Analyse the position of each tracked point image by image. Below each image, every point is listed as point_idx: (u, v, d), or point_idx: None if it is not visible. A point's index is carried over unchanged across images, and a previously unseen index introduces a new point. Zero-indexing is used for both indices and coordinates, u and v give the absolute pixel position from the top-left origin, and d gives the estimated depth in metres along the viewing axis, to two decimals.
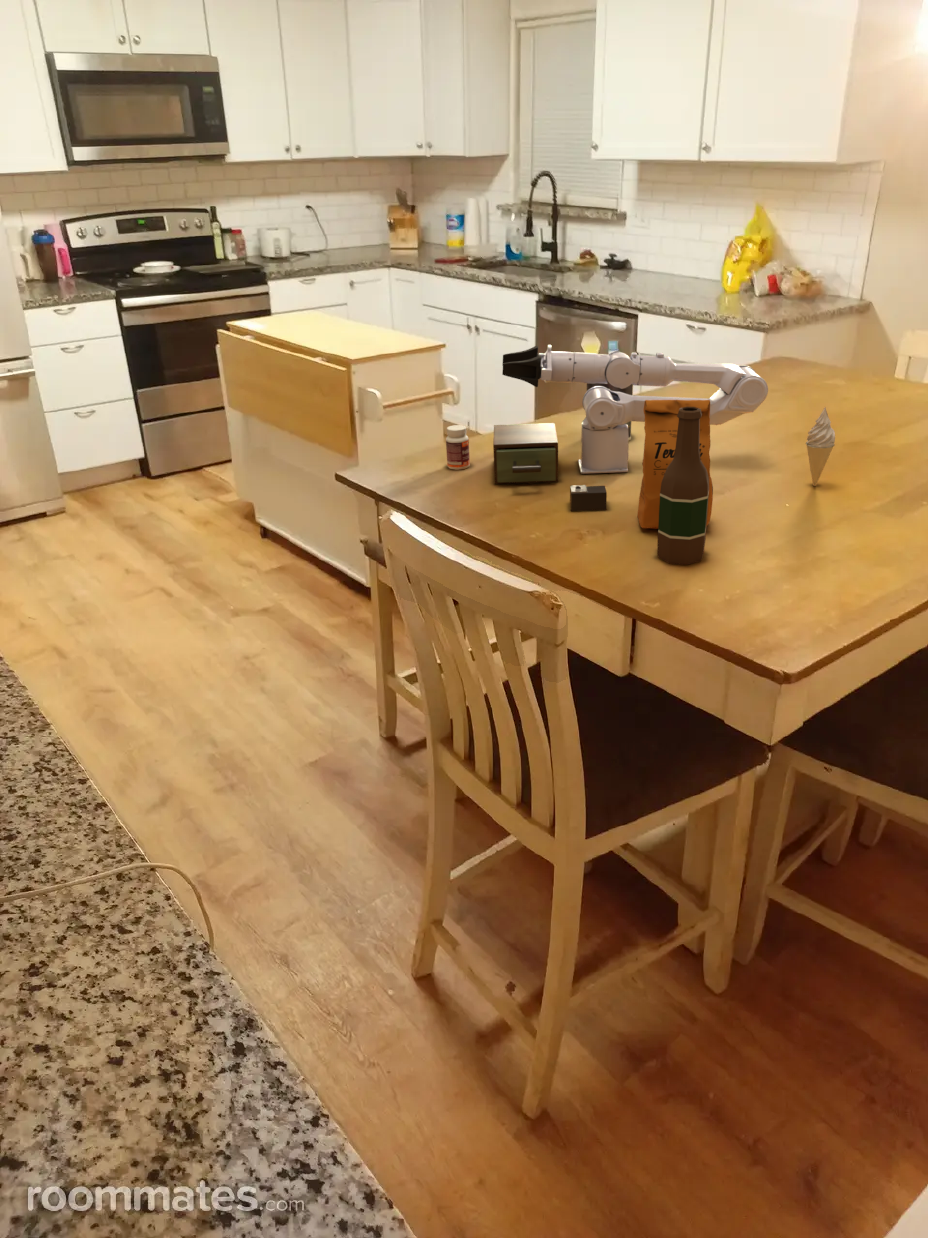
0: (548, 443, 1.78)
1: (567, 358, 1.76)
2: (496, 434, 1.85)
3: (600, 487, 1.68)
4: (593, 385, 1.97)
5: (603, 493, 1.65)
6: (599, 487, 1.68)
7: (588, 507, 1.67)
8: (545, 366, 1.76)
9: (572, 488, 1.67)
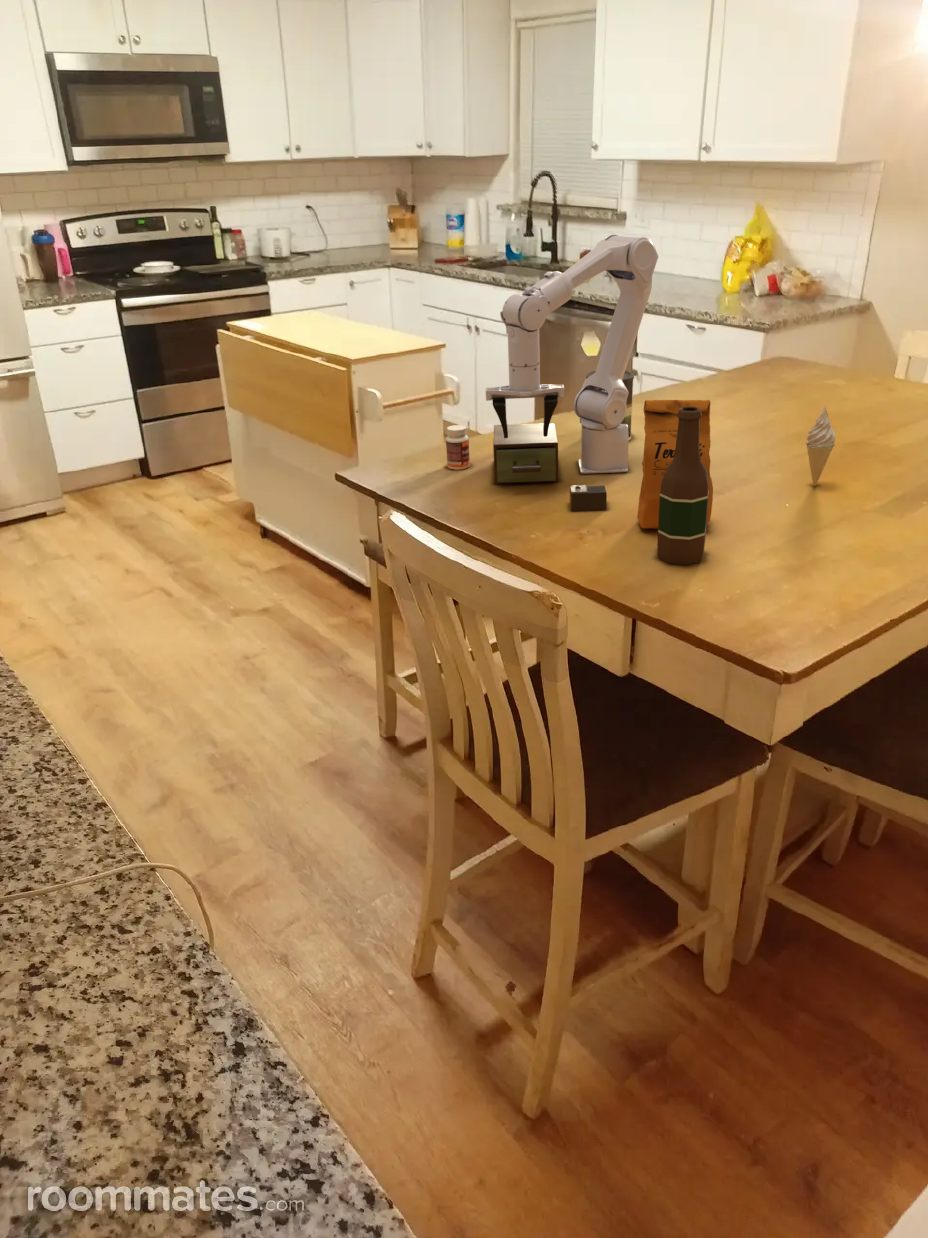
0: (548, 443, 1.78)
1: (534, 372, 1.67)
2: (496, 434, 1.85)
3: (600, 487, 1.68)
4: None
5: (603, 493, 1.65)
6: (599, 487, 1.68)
7: (588, 507, 1.67)
8: None
9: (572, 488, 1.67)
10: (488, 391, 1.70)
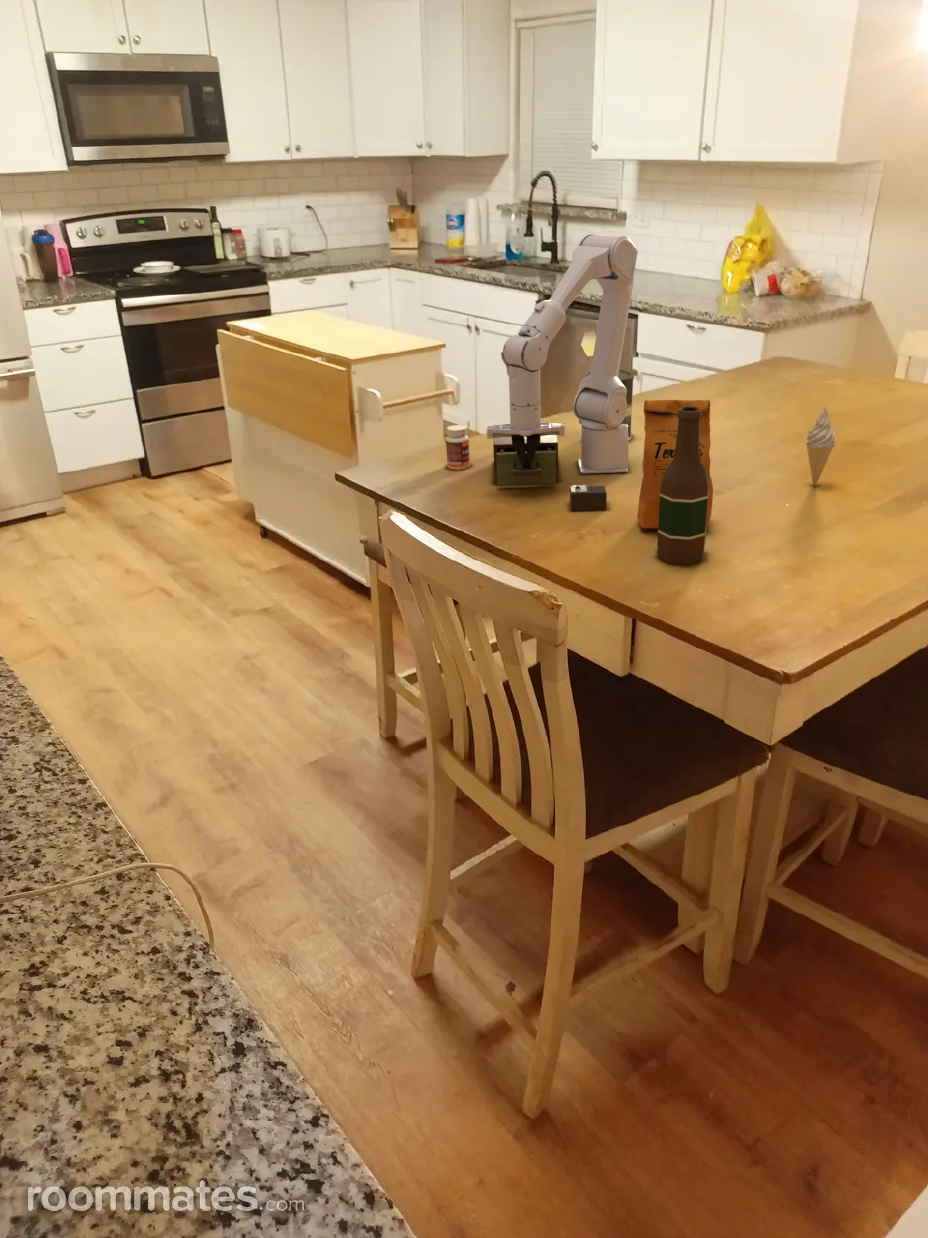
0: (548, 443, 1.78)
1: (535, 411, 1.68)
2: None
3: (600, 487, 1.68)
4: None
5: (603, 493, 1.65)
6: (599, 487, 1.68)
7: (588, 507, 1.67)
8: None
9: (572, 488, 1.67)
10: (489, 429, 1.71)
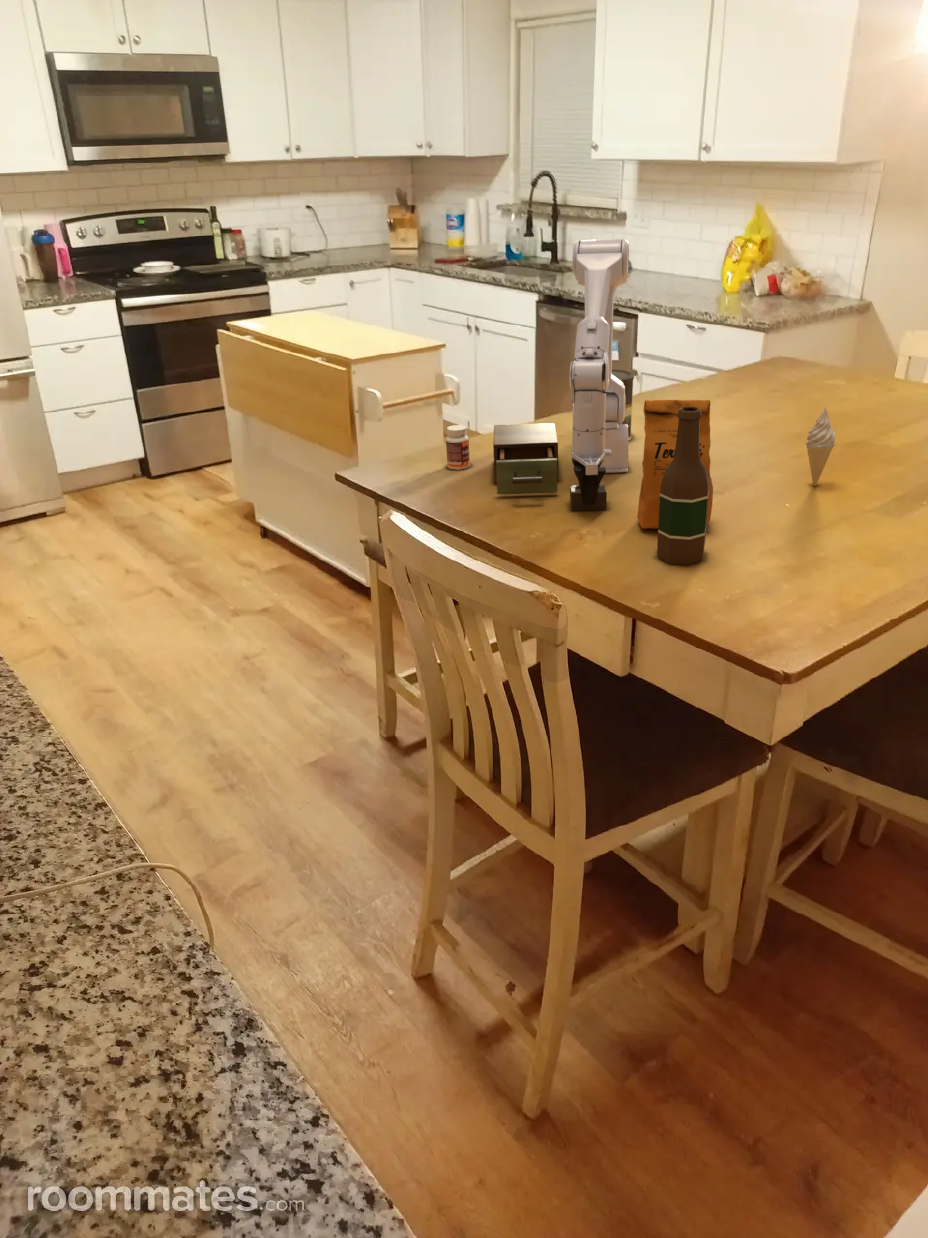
0: (548, 443, 1.78)
1: None
2: (496, 434, 1.85)
3: (600, 487, 1.68)
4: None
5: (603, 493, 1.65)
6: (599, 487, 1.68)
7: (588, 507, 1.67)
8: None
9: (572, 488, 1.67)
10: (597, 464, 1.58)
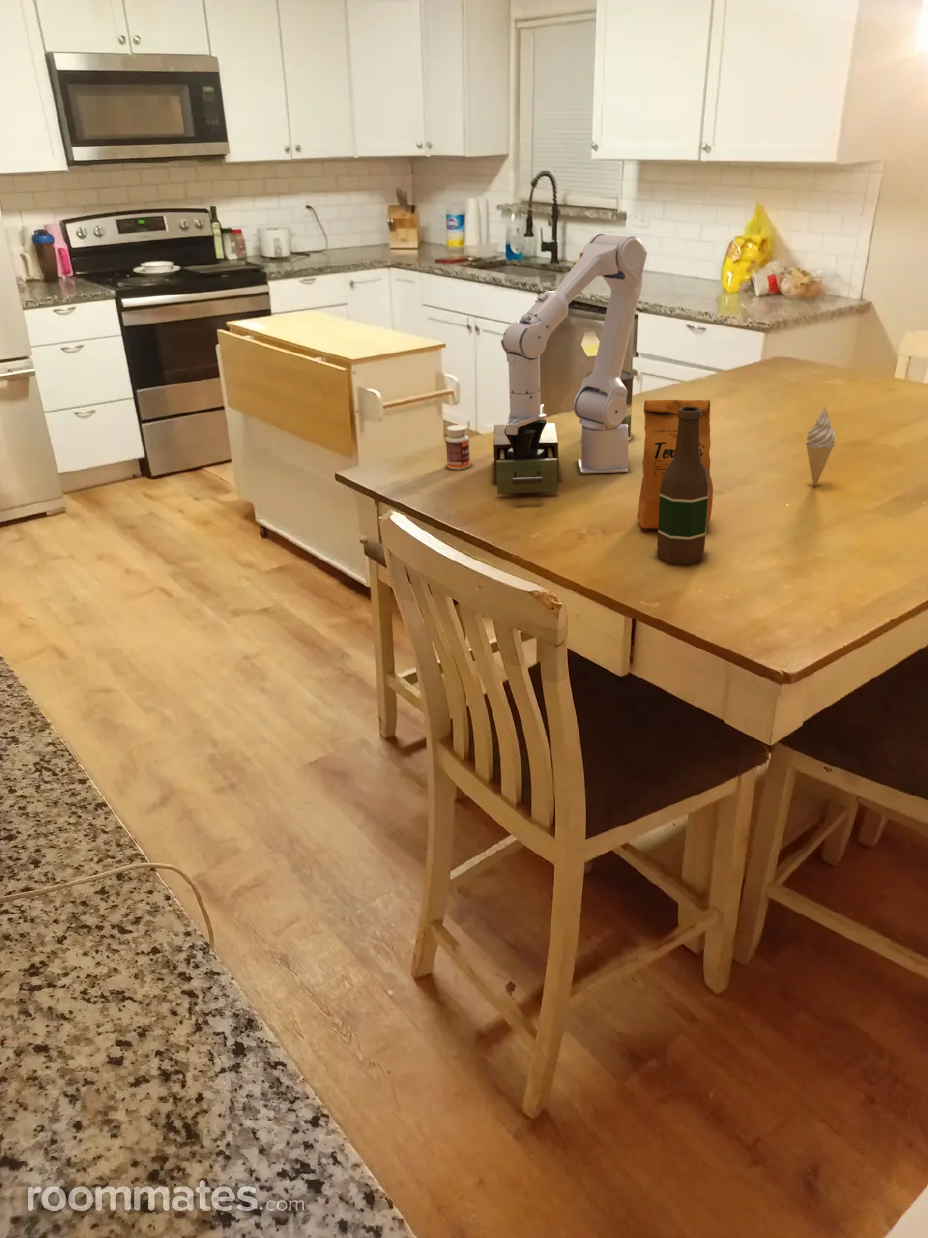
0: (548, 443, 1.78)
1: None
2: (496, 434, 1.85)
3: (538, 450, 1.75)
4: None
5: (535, 456, 1.73)
6: (538, 450, 1.75)
7: None
8: None
9: None
10: (516, 425, 1.66)
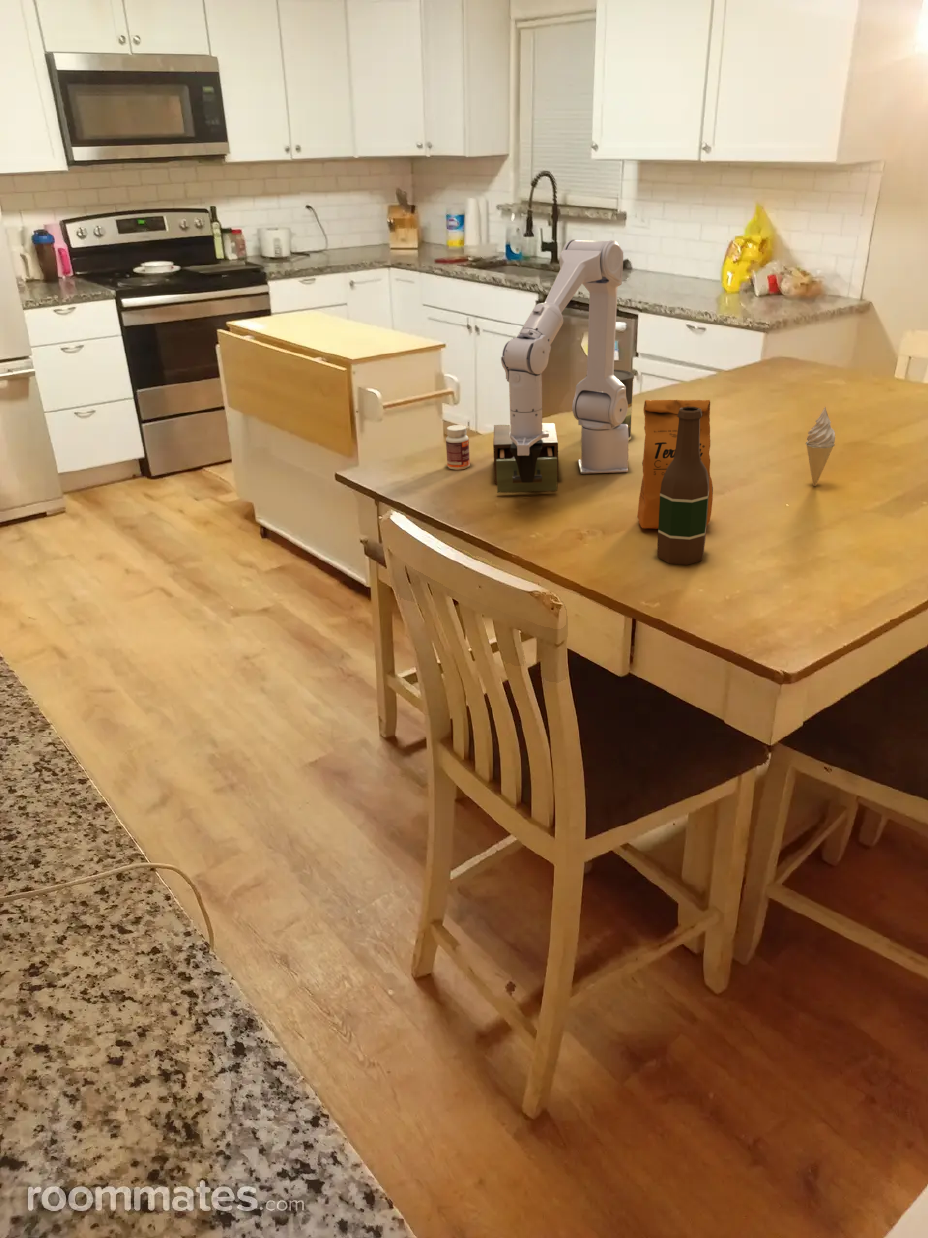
0: (548, 443, 1.78)
1: None
2: (496, 434, 1.85)
3: None
4: None
5: None
6: None
7: None
8: None
9: (512, 458, 1.78)
10: (529, 445, 1.58)
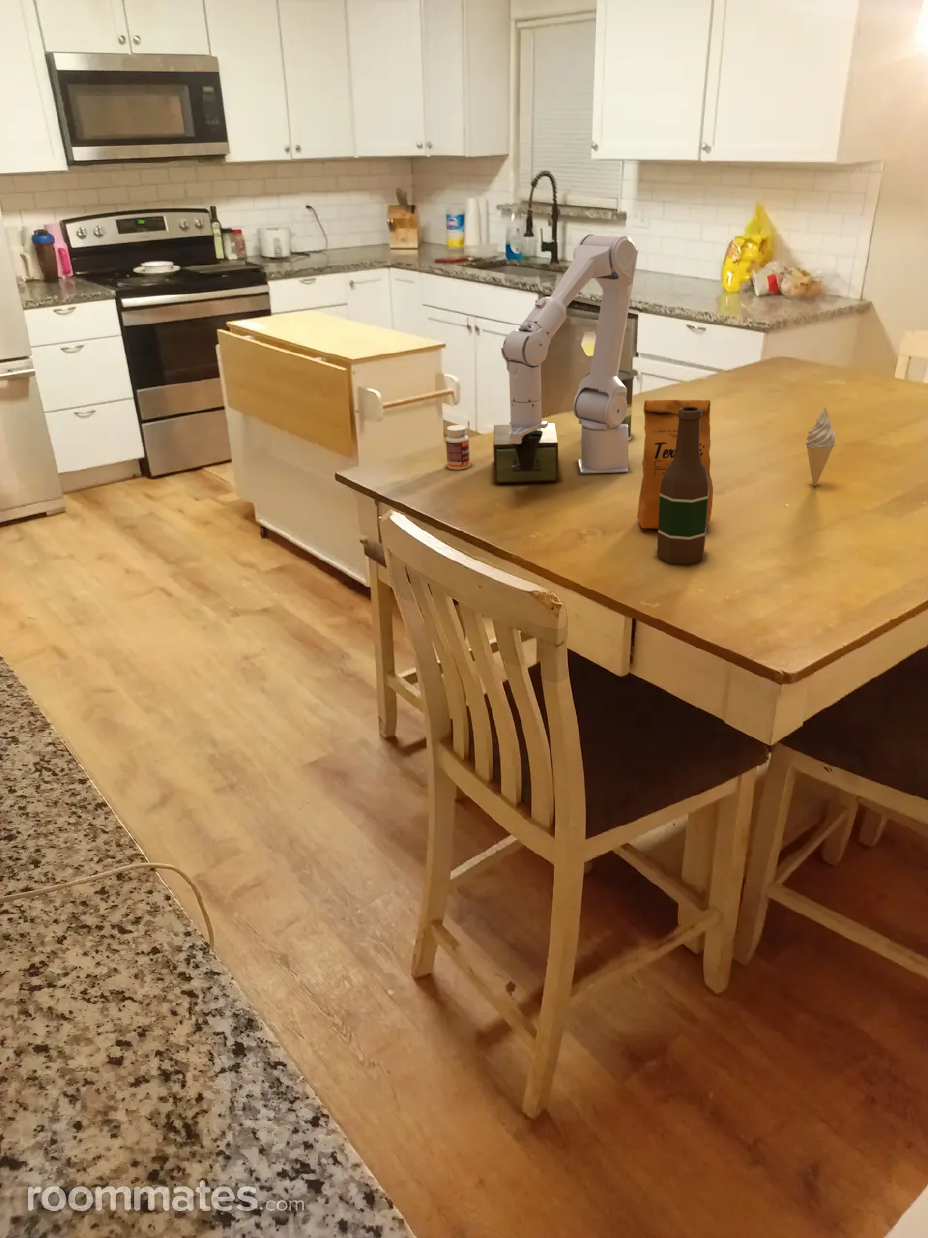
0: (548, 443, 1.78)
1: None
2: (496, 434, 1.85)
3: None
4: None
5: None
6: None
7: None
8: None
9: (512, 448, 1.83)
10: (521, 433, 1.64)
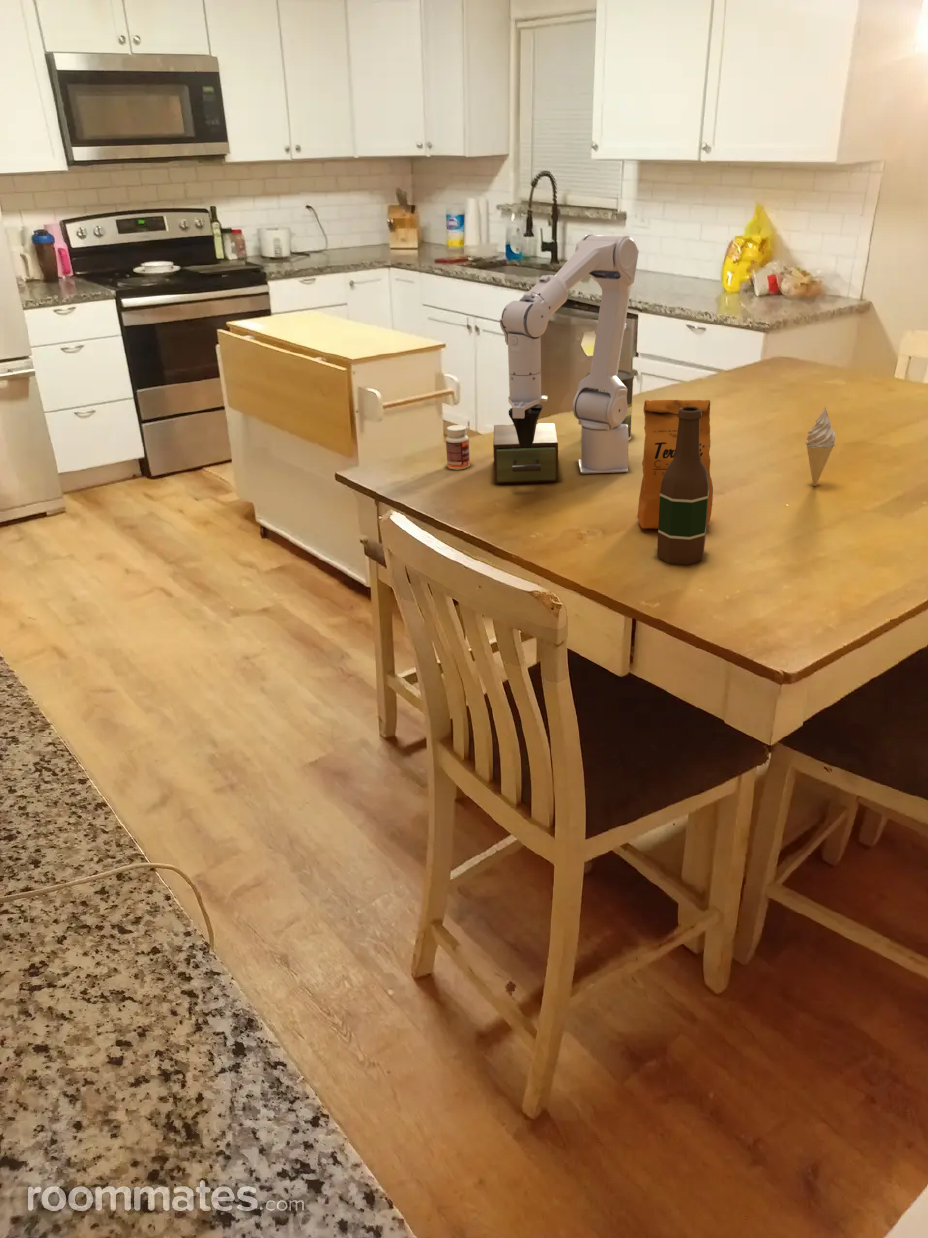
0: (548, 443, 1.78)
1: None
2: (496, 434, 1.85)
3: None
4: None
5: None
6: None
7: None
8: None
9: (512, 448, 1.83)
10: (524, 408, 1.59)
